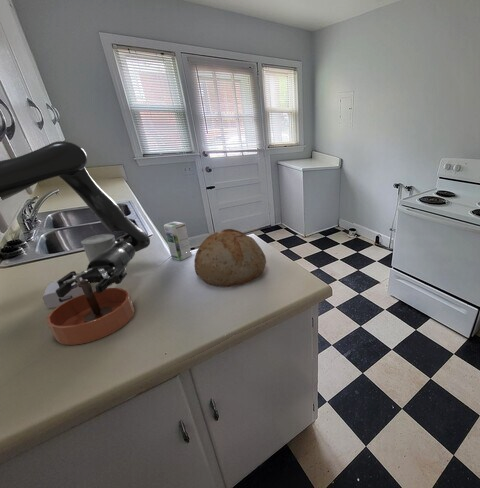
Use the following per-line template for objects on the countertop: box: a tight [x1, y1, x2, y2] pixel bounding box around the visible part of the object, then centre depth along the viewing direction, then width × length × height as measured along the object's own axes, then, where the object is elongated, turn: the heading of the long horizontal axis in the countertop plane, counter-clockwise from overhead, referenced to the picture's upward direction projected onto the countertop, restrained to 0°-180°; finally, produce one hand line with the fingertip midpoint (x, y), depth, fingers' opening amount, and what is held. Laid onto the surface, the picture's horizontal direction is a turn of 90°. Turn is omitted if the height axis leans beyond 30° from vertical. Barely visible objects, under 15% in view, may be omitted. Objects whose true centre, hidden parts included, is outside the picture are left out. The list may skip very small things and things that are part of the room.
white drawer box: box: [41, 277, 84, 309], centre depth 87 cm, size 5×9×15 cm
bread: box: [193, 228, 267, 288], centre depth 97 cm, size 26×23×15 cm
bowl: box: [46, 287, 135, 346], centre depth 74 cm, size 17×17×6 cm
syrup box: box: [163, 221, 193, 261], centre depth 109 cm, size 6×6×14 cm
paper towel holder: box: [80, 279, 113, 323], centre depth 73 cm, size 6×6×12 cm
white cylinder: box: [80, 233, 116, 264], centre depth 100 cm, size 10×10×12 cm
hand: (78, 292), depth 69 cm, fingers open, 8 cm apart
